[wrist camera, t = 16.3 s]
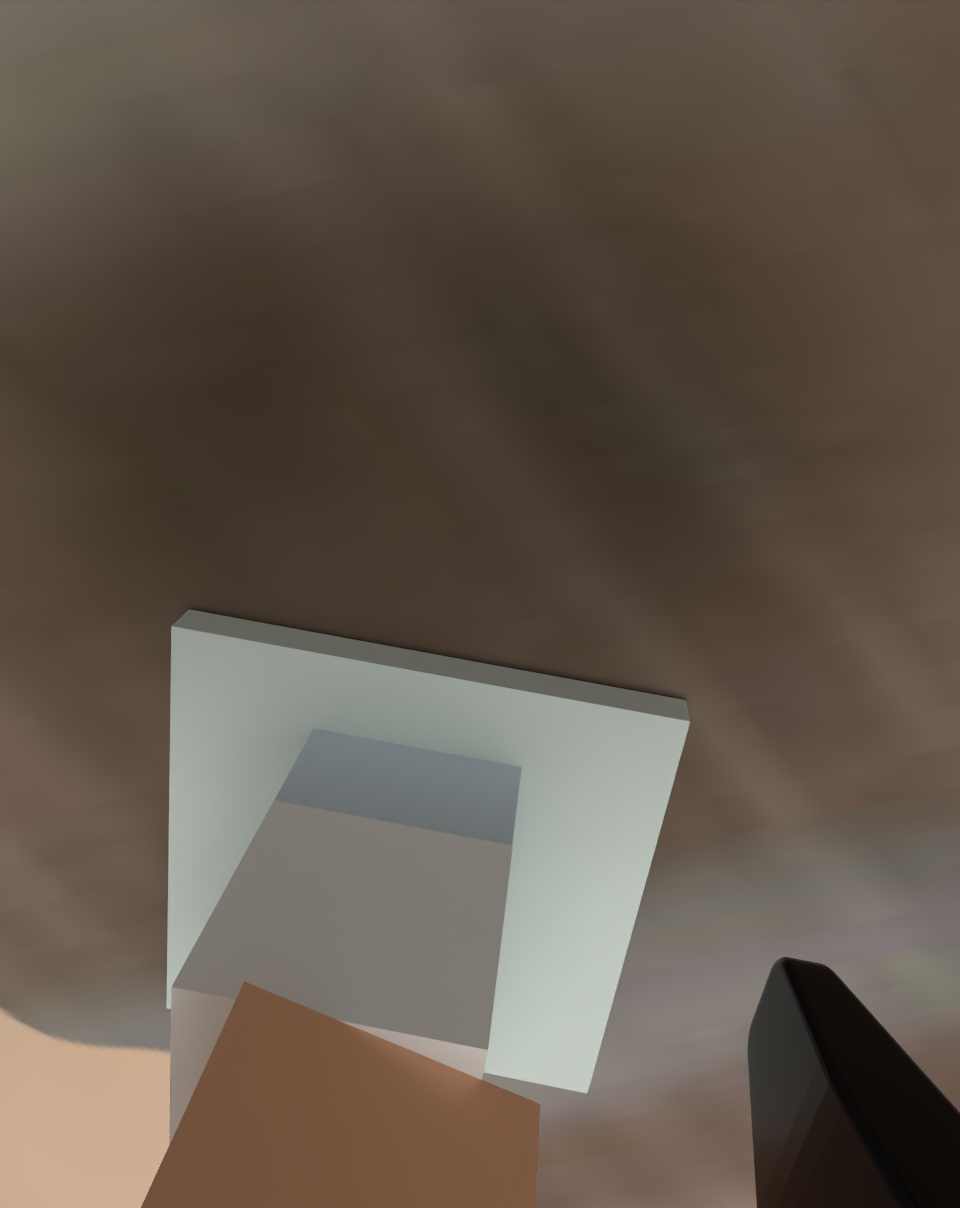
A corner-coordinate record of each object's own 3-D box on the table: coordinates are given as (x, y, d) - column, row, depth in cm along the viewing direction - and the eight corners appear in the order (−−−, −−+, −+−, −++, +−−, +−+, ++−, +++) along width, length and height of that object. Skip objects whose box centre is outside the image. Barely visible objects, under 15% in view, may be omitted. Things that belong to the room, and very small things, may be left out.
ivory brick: (512, 845, 18) (487, 1049, 14) (459, 1114, 22) (425, 1354, 17) (273, 800, 19) (171, 986, 14) (255, 1073, 22) (167, 1298, 17)
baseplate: (685, 700, 21) (706, 798, 18) (587, 1062, 26) (587, 1200, 22) (189, 609, 22) (107, 686, 18) (181, 981, 26) (115, 1102, 23)
